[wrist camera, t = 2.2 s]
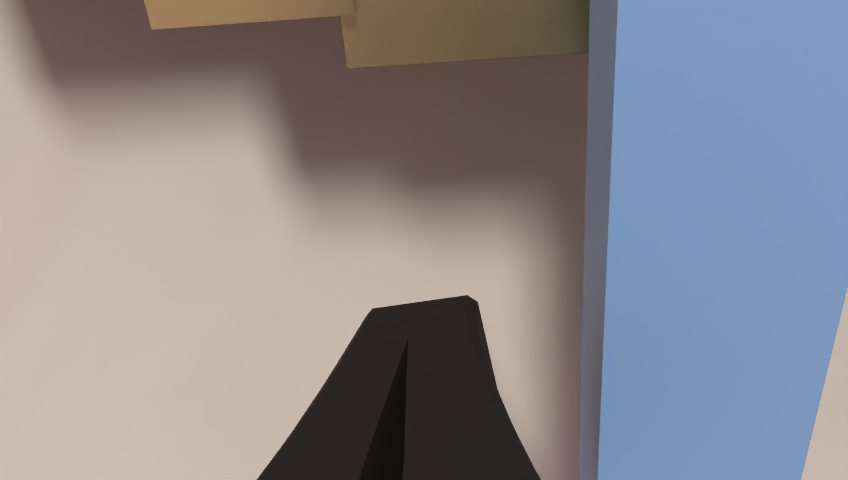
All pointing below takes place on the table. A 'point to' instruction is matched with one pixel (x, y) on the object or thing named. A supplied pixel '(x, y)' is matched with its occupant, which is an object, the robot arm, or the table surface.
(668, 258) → the lever
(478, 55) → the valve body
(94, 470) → the table surface
